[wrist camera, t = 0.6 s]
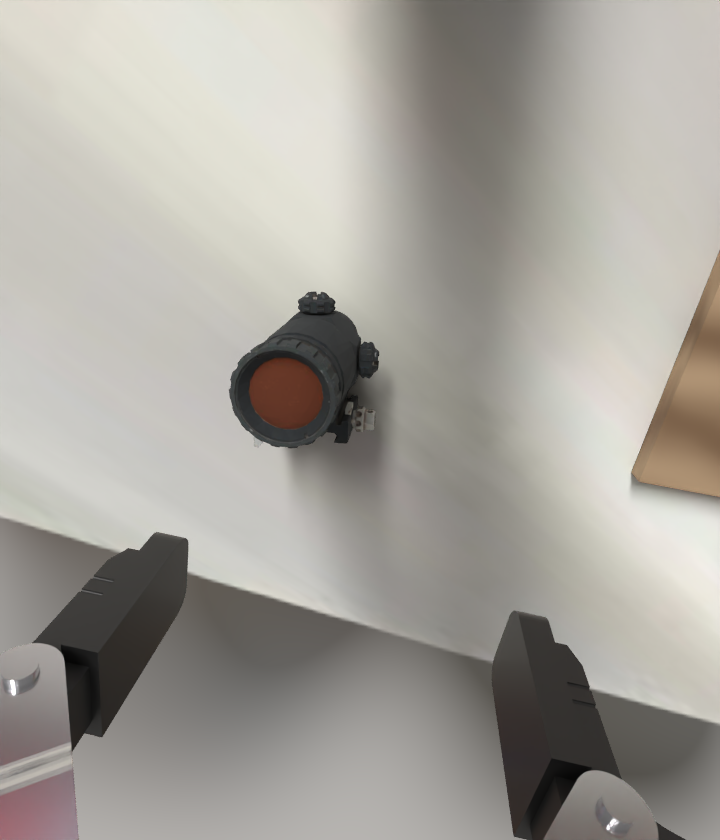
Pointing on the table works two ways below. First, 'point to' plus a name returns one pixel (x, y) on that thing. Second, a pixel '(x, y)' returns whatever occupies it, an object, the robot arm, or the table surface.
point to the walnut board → (689, 408)
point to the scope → (304, 379)
